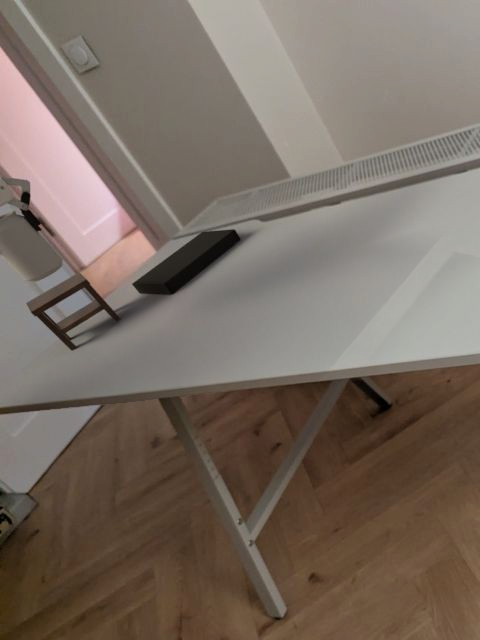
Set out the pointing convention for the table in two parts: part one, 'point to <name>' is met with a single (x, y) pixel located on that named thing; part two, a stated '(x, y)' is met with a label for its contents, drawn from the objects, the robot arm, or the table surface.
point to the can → (26, 248)
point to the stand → (70, 322)
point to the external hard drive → (186, 262)
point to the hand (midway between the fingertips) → (17, 240)
